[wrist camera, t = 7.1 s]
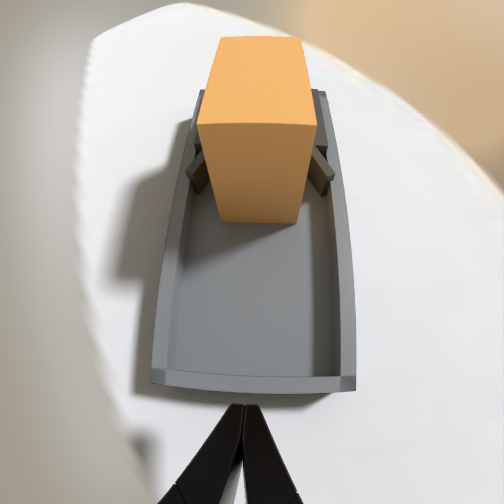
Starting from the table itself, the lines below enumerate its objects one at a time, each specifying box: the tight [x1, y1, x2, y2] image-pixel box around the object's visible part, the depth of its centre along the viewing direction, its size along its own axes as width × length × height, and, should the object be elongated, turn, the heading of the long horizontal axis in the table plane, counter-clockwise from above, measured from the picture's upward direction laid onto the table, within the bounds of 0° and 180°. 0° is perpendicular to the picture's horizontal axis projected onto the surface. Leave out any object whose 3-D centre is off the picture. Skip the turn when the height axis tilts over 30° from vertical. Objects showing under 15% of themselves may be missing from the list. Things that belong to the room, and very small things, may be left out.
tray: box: [150, 89, 356, 394], centre depth 17 cm, size 21×10×3 cm, turn 178°
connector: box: [196, 36, 317, 224], centre depth 16 cm, size 10×4×8 cm, turn 178°
